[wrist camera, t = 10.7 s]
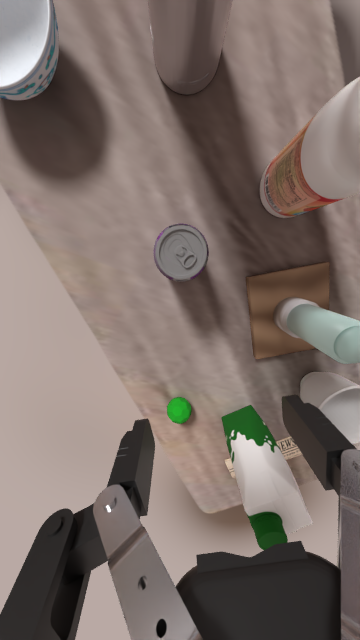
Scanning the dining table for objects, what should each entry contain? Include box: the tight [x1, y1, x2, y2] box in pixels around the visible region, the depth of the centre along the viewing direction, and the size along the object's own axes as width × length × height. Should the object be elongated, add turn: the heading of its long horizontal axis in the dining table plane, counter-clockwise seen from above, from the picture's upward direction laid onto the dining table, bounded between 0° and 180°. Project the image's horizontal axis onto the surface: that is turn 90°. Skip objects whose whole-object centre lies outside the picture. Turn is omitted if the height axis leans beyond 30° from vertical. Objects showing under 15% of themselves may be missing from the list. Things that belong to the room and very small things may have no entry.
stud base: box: [246, 262, 330, 359], centre depth 37 cm, size 16×14×6 cm
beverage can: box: [154, 224, 209, 281], centre depth 30 cm, size 7×7×12 cm
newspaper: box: [225, 436, 302, 478], centre depth 49 cm, size 24×7×2 cm, turn 115°
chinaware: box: [0, 0, 59, 100], centre depth 25 cm, size 15×15×8 cm
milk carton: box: [222, 405, 313, 550], centre depth 37 cm, size 9×9×20 cm
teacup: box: [300, 372, 360, 444], centre depth 39 cm, size 12×15×10 cm
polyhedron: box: [167, 397, 191, 424], centre depth 42 cm, size 5×5×5 cm
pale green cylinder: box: [287, 304, 360, 364], centre depth 29 cm, size 5×5×11 cm
